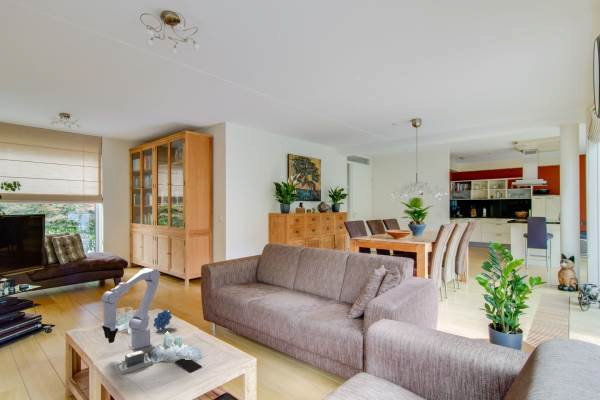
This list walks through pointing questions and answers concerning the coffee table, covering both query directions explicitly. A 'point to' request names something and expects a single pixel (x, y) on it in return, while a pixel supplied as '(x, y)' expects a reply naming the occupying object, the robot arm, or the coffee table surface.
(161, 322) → the grapes
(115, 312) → the robot arm
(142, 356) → the drive
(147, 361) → the tray
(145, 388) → the coffee table surface
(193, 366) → the smartphone
